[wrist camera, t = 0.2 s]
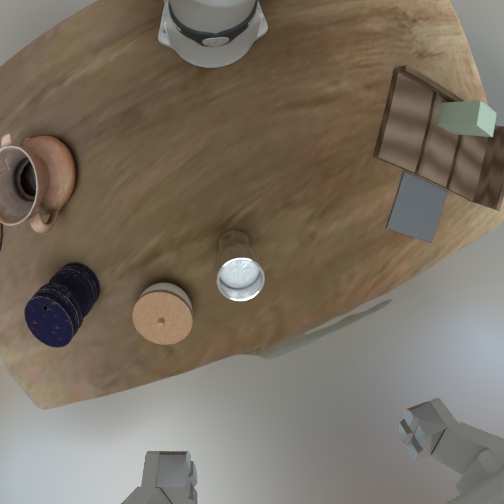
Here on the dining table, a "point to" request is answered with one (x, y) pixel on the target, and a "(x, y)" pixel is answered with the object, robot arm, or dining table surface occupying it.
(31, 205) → the ceramic jug
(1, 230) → the trivet
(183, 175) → the dining table surface
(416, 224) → the mat
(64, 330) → the storage jar
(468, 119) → the block
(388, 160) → the lane shelf
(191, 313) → the lidded jar
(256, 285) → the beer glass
